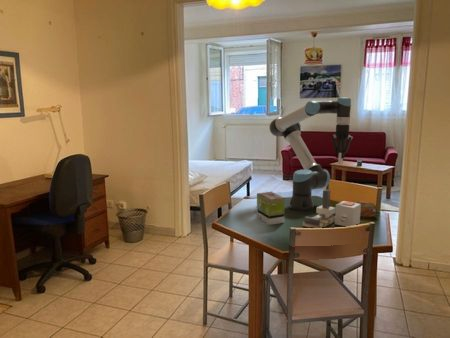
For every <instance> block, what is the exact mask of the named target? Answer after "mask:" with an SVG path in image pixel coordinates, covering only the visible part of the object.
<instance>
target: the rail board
mask: <svg viewBox="0 0 450 338" xmlns="http://www.w3.org/2000/svg"><path fill="white" fill-rule="evenodd" d="M333 223H335V213H334V214H332V216H330V217H328V218H325V215H324V214H321V215H319V213H317V215H315V216H313V217H311V216H304V221H302V227H306V228H310V227H314V228H322V227H324V228H325V227H327V226H329V225H331V224H333ZM314 228H313V229H314ZM322 229H323V228H322Z"/></svg>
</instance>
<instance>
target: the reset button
mask: <svg viewBox="0 0 450 338" xmlns="http://www.w3.org/2000/svg"><path fill="white" fill-rule="evenodd" d="M350 202H351V201H347V202H344V203H342V205H347V206H353V205H355V203H350Z"/></svg>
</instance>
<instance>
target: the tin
mask: <svg viewBox="0 0 450 338" xmlns="http://www.w3.org/2000/svg"><path fill="white" fill-rule="evenodd" d="M353 203H358V204H361V211H360V217H367V218H371V217H374V216H375V215H376V214H377V212H378V208H377V206H376V205H375V203H373V202H370V201H353Z"/></svg>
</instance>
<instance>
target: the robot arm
mask: <svg viewBox="0 0 450 338" xmlns="http://www.w3.org/2000/svg"><path fill="white" fill-rule="evenodd" d="M351 107H352V99H351V97H338V98H337V100H326V99H325V100H310V101H307V102H306V103H305V105H304V106H302V107H299V108H298V109H296V110H295V111H292V112H290V113H288V114H286V115H284V116H283V117H277V118H275V119H273V120H272V121H271V122H270V123H269V132H270V133H271V134H272V135H273V136H275V137H283V139H284V140H285V141H286V142H288V143H289V144H290V146H291V149H293V151H294V154H295V155H296V157H297V159H298V160H299V162H300V165H301V166H302V168H303V169H297V170H296V171H294V172H293V175H292V196H291V198H290V201H289V204H288V205H289V206H288V207H289V208H290V209H291V210H295V211H303V212H304V211H305V212H306V211H311V210H314V208H315V205H314V204H315V203H314V201H313V197H312V191H313V190H317V189H323V188H326V187H328V185H329V184H330V181H331V175H330V172H329V171H328V170H327V169H325V168H323V167H322V166H321V164H319V163H317V162H316V160H315V159H314V157H313V155H312V154H311V152H310V150H309V148H308V147H307V145H306V143H305V142H304V140H303V138H302V136H301V134H302V132H301V131H302V126H301V122H303V121H305V120H306V119H307V120H308V119H309V118H312V117H313V116H316V115H319V114H320V115H323V114H335V115H336V120H335V121H336V122H335V123H336V125H335V133H334V134H333V135H331V139H332V143H333V150H334V151H333V152H336V153H337V156H336V157H337V160H338V161H337V164H338V165H342V164H343V162H344V159H345V154H346V153H348V152H349V149H350V146H351V142H352V140H353V139H354V136H351V135H350V123H351Z"/></svg>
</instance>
